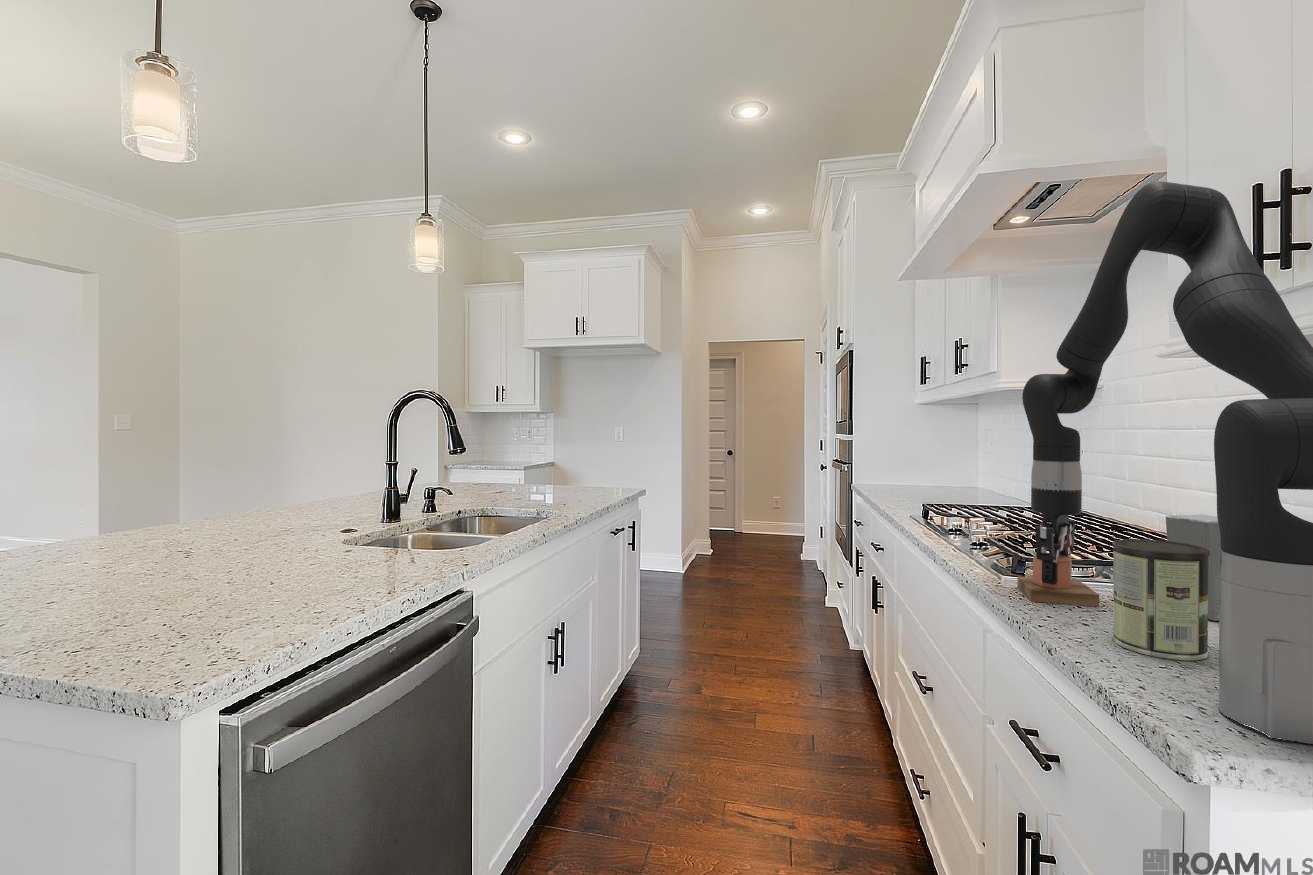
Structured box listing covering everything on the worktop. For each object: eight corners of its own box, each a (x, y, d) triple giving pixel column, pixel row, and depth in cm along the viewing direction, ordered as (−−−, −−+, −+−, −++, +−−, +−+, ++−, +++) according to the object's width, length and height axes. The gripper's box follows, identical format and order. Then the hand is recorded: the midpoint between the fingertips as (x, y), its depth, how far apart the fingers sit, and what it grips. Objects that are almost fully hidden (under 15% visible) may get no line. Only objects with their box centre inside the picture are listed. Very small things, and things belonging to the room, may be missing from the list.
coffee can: (1153, 632, 90) (1154, 537, 89) (1230, 658, 79) (1231, 551, 79) (1092, 636, 88) (1093, 539, 88) (1163, 664, 78) (1164, 554, 77)
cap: (1054, 579, 112) (1055, 552, 112) (1078, 588, 106) (1079, 559, 106) (1026, 580, 111) (1026, 553, 111) (1048, 588, 106) (1049, 560, 105)
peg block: (1099, 606, 102) (1099, 571, 102) (1031, 601, 105) (1031, 567, 105) (1079, 591, 111) (1079, 558, 111) (1017, 586, 115) (1017, 555, 115)
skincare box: (1254, 622, 94) (1256, 520, 93) (1207, 622, 94) (1208, 520, 94) (1206, 606, 102) (1207, 512, 102) (1163, 606, 102) (1164, 512, 102)
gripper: (1068, 490, 100) (1067, 592, 101) (1092, 485, 110) (1091, 577, 110) (1018, 487, 106) (1017, 583, 106) (1045, 482, 115) (1044, 570, 116)
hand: (1055, 580), depth 108 cm, fingers closed on cap, 5 cm apart
